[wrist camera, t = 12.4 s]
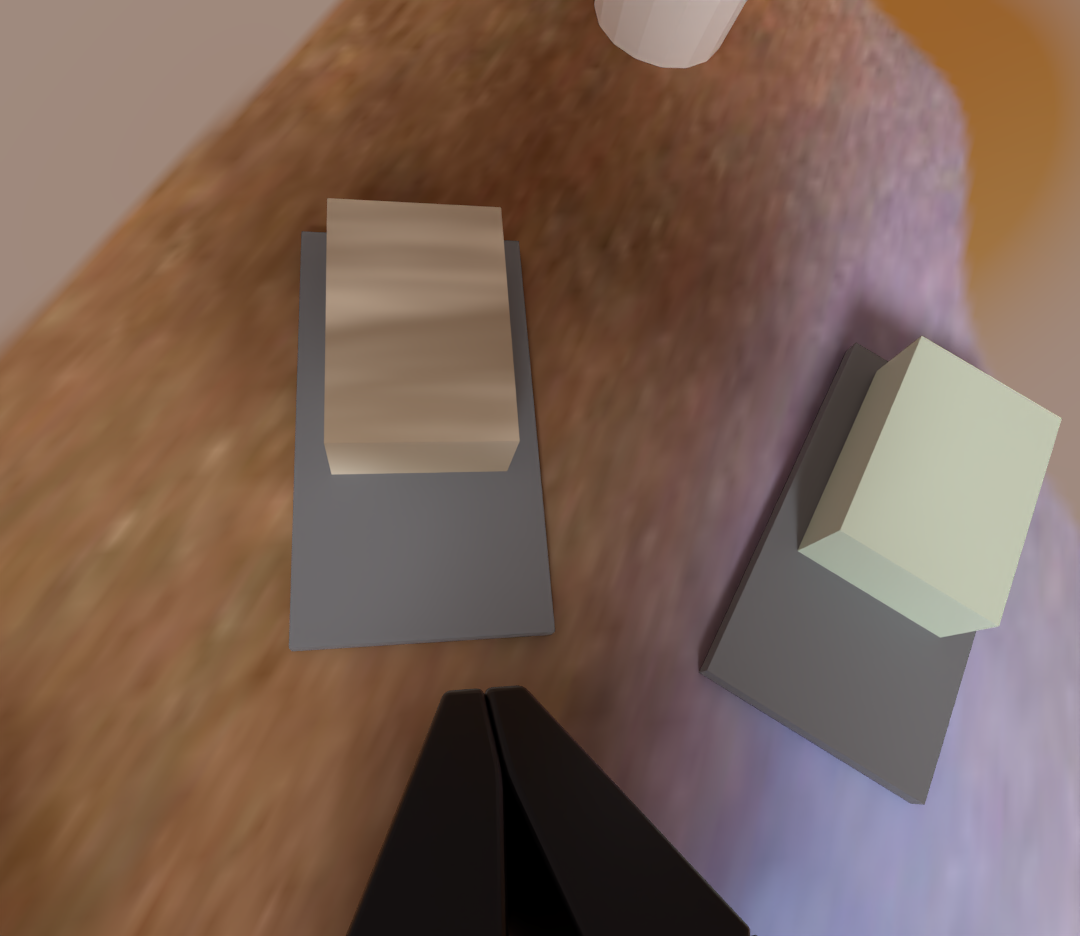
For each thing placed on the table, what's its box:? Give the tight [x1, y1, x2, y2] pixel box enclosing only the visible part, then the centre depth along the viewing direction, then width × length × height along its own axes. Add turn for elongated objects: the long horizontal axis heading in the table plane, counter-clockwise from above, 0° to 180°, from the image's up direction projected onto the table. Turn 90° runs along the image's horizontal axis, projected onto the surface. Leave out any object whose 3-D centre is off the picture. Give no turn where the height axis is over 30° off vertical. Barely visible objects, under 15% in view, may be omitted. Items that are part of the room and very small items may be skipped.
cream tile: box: [324, 198, 520, 475], centre depth 22 cm, size 2×5×8 cm
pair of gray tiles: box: [289, 231, 976, 805], centre depth 23 cm, size 25×18×1 cm
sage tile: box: [798, 336, 1062, 638], centre depth 23 cm, size 2×5×8 cm
